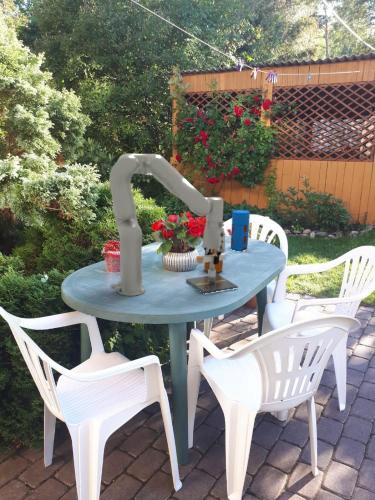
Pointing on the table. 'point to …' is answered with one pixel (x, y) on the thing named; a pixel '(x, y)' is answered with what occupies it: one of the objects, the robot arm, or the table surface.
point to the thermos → (240, 230)
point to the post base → (209, 286)
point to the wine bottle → (217, 266)
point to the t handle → (210, 259)
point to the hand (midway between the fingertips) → (212, 262)
